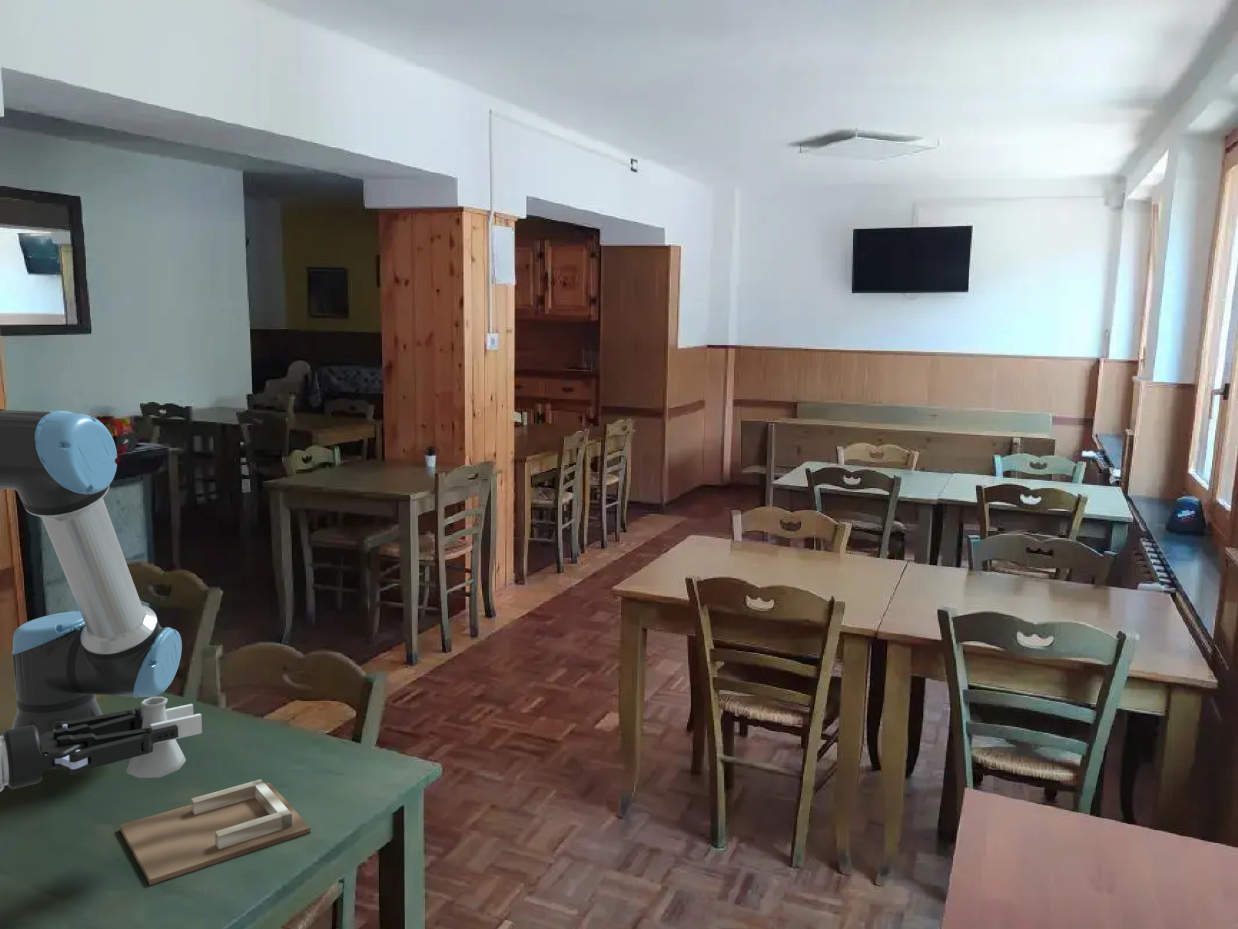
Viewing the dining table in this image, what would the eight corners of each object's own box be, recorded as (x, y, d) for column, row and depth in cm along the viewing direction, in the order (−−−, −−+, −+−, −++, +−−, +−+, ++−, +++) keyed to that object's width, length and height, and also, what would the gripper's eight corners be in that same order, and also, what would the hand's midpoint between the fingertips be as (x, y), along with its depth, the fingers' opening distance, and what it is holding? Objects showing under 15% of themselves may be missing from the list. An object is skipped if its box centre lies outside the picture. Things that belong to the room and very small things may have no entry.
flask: (161, 783, 129) (159, 714, 127) (115, 776, 130) (112, 707, 129) (195, 760, 136) (193, 694, 134) (152, 753, 137) (149, 688, 136)
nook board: (119, 830, 139) (119, 812, 139) (269, 787, 153) (269, 770, 153) (150, 885, 126) (149, 866, 126) (310, 832, 140) (310, 815, 140)
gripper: (-3, 764, 128) (182, 723, 143) (14, 815, 115) (214, 764, 130) (-6, 711, 127) (180, 675, 142) (10, 757, 114) (213, 713, 129)
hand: (196, 718), depth 136 cm, fingers closed on flask, 3 cm apart
